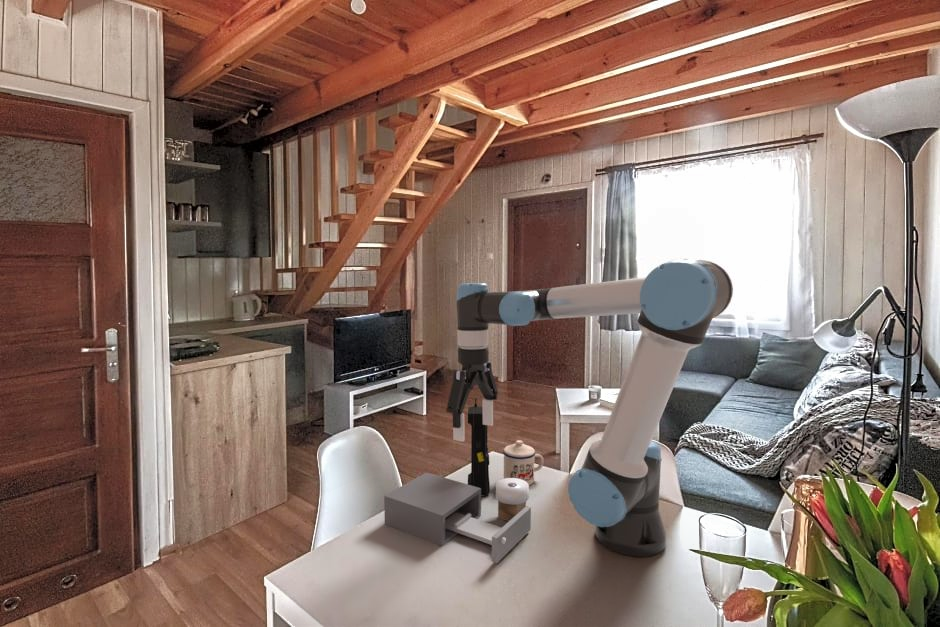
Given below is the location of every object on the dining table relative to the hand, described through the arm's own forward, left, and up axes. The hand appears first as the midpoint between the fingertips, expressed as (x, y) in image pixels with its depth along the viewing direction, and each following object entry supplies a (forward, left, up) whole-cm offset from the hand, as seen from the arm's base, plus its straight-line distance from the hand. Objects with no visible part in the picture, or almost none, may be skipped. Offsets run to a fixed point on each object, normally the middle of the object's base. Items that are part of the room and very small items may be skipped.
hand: (474, 432), depth 123 cm
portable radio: (+5, -10, -21) cm, 24 cm away
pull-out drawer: (-8, +9, -20) cm, 23 cm away
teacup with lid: (-2, -23, -21) cm, 31 cm away
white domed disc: (-9, -3, -15) cm, 18 cm away
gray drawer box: (+6, +9, -20) cm, 23 cm away
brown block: (-9, -3, -20) cm, 23 cm away
